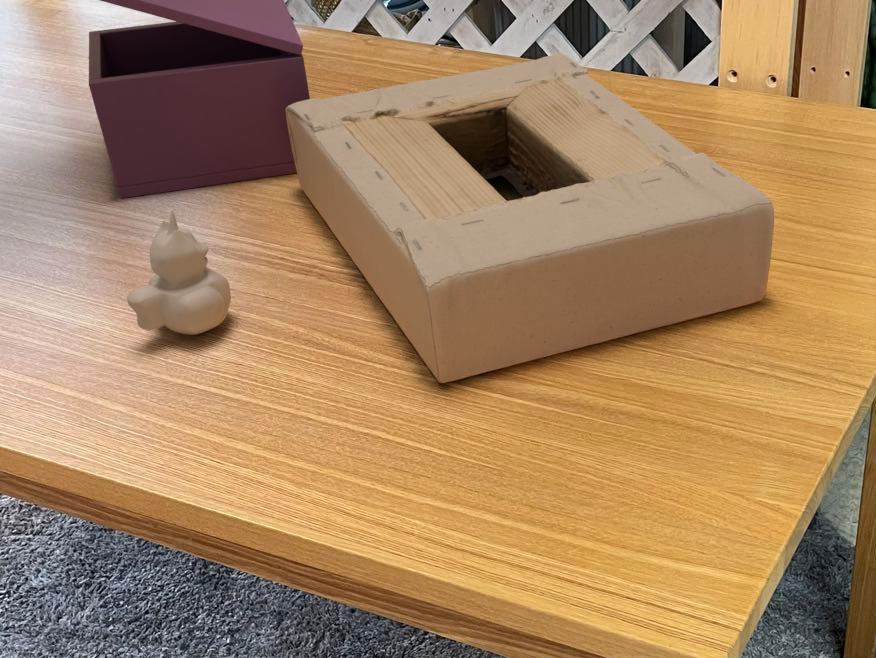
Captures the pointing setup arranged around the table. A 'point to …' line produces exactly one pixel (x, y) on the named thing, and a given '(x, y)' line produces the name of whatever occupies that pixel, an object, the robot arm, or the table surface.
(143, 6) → the lid
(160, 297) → the rubber duck
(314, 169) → the box
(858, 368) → the table surface
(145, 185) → the box
